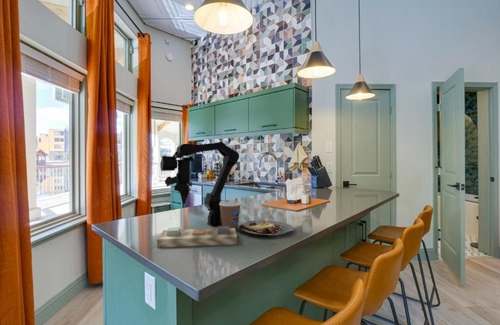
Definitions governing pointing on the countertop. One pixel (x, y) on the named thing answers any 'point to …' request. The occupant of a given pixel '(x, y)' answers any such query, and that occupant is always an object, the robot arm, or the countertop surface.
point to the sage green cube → (173, 231)
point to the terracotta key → (199, 232)
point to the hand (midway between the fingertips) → (183, 203)
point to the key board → (197, 238)
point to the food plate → (265, 227)
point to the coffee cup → (230, 214)
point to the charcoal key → (223, 229)
